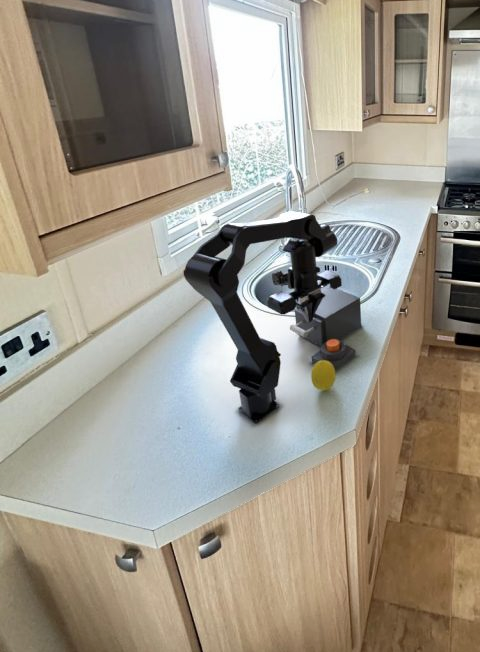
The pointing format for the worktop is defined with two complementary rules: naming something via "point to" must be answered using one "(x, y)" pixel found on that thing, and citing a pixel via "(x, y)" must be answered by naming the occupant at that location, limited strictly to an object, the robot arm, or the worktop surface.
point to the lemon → (323, 375)
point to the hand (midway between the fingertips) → (309, 321)
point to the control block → (335, 355)
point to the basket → (309, 328)
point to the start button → (333, 345)
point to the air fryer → (339, 313)
